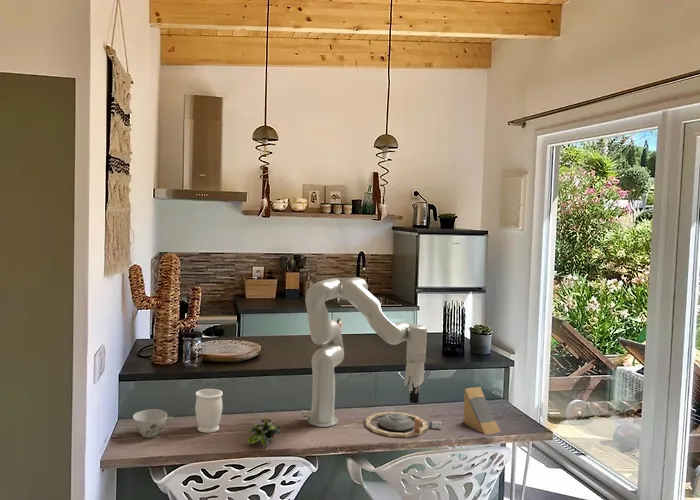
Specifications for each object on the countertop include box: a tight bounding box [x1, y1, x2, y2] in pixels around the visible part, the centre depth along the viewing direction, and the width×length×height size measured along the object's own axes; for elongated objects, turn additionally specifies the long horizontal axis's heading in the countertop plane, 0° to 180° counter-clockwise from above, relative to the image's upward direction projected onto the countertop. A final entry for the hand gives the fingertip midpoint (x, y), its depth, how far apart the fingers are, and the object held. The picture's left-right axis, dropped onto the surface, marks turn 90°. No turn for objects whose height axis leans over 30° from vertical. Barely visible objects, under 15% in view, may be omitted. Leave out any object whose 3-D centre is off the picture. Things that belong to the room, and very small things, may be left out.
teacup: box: [132, 408, 174, 438], centre depth 233 cm, size 15×12×8 cm
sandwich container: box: [463, 386, 501, 436], centre depth 255 cm, size 9×15×15 cm, turn 26°
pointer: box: [428, 420, 443, 430], centre depth 252 cm, size 5×2×2 cm, turn 86°
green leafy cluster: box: [246, 418, 282, 449], centre depth 228 cm, size 11×11×12 cm
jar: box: [194, 388, 223, 434], centre depth 240 cm, size 11×10×15 cm
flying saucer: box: [378, 413, 415, 432], centre depth 253 cm, size 15×15×6 cm
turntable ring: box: [365, 411, 428, 438], centre depth 253 cm, size 26×26×6 cm
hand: (414, 402), depth 238 cm, fingers closed
